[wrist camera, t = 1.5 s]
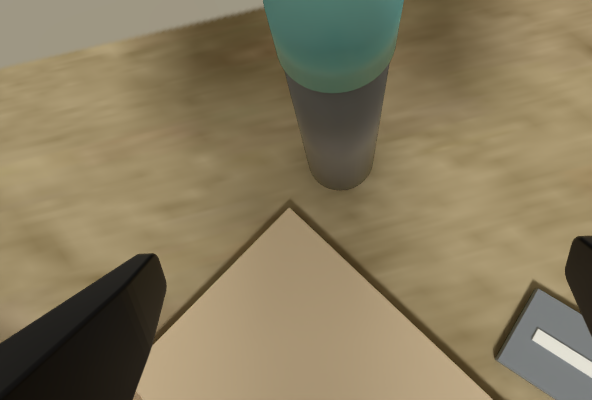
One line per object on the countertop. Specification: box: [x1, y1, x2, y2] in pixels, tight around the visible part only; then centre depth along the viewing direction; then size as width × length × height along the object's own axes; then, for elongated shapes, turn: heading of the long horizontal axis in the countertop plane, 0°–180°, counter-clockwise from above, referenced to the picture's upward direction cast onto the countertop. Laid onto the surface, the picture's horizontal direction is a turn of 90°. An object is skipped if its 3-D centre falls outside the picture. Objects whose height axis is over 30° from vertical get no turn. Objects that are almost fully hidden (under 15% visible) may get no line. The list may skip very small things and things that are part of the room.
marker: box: [263, 0, 404, 190], centre depth 17 cm, size 4×4×13 cm
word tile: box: [495, 289, 592, 400], centre depth 19 cm, size 6×4×1 cm, turn 55°
